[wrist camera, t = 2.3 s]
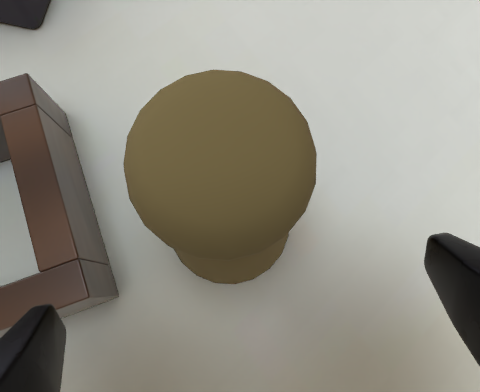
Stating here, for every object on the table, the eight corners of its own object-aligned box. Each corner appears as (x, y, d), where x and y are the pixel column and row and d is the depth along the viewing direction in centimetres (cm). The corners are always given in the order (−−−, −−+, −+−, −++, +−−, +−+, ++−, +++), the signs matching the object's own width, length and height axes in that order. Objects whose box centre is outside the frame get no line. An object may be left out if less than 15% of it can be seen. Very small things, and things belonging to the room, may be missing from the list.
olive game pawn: (222, 310, 19) (201, 334, 8) (143, 216, 20) (37, 131, 10) (314, 228, 20) (401, 154, 9) (235, 141, 21) (231, -12, 10)
